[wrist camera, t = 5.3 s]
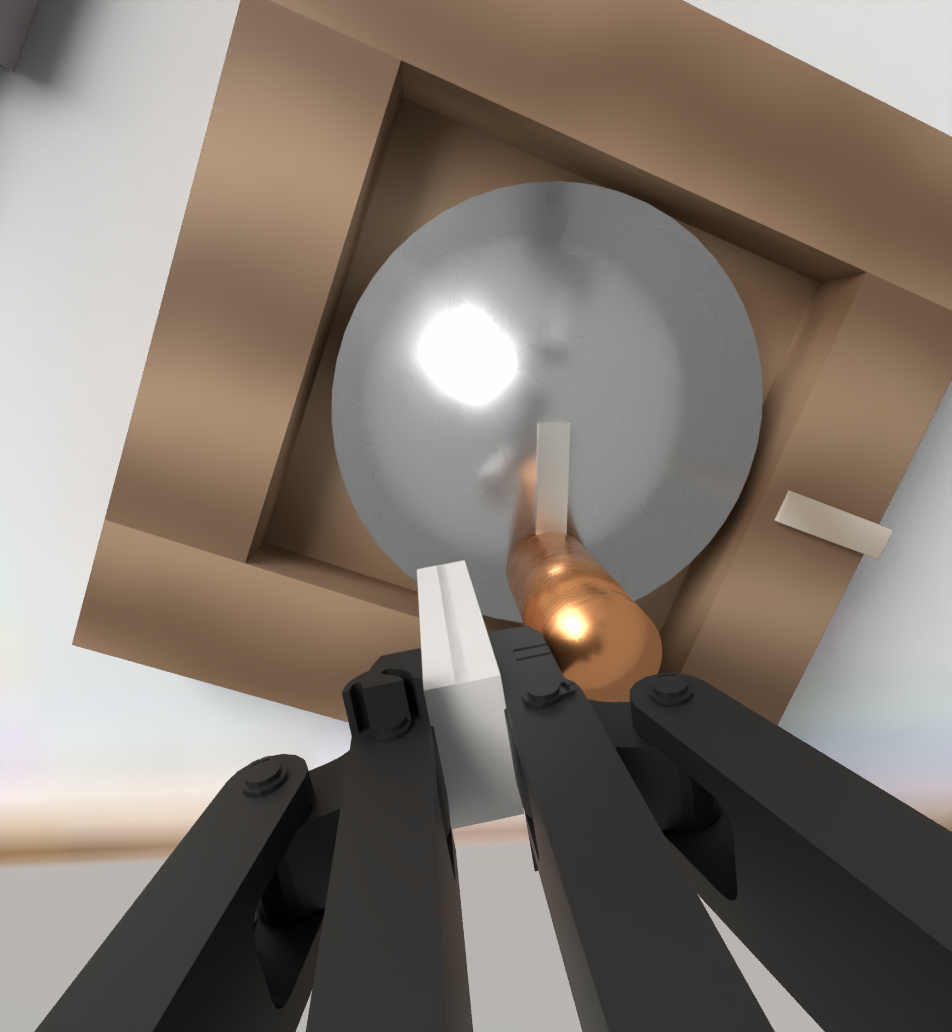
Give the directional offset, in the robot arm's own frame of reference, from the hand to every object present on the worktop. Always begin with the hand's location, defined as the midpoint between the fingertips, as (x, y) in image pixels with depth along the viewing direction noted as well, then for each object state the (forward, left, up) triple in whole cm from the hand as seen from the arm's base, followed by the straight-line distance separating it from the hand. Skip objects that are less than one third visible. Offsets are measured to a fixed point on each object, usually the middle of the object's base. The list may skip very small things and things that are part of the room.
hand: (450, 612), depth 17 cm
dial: (-6, +1, -4) cm, 7 cm away
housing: (-6, +1, -7) cm, 9 cm away
